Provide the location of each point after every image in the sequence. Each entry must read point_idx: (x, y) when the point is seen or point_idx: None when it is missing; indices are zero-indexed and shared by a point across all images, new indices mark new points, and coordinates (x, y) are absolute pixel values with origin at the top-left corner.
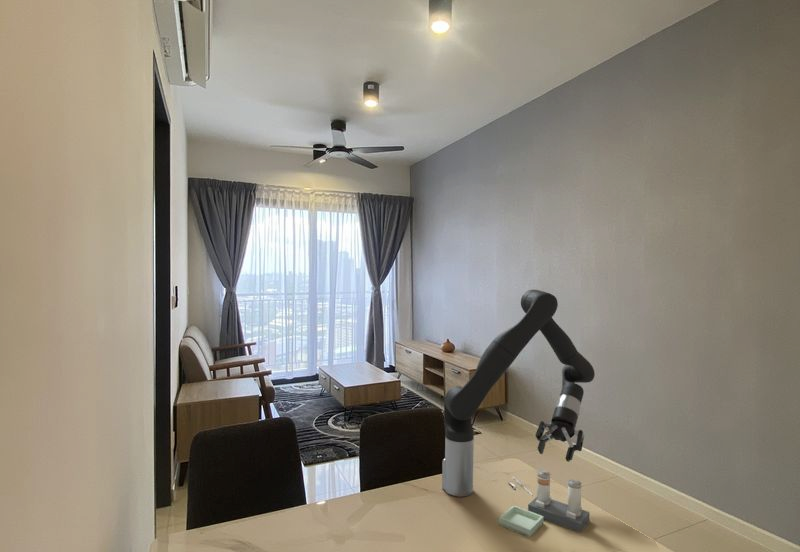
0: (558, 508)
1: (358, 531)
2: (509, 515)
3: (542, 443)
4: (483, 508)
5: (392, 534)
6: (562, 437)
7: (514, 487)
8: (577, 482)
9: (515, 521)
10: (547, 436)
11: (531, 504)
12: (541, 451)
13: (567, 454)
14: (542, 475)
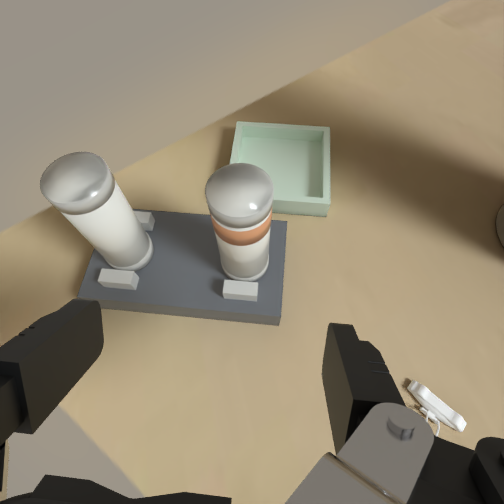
0: (186, 255)
1: None
2: (321, 179)
3: (350, 372)
4: (406, 186)
5: (472, 20)
6: (41, 497)
7: (415, 385)
8: (59, 180)
9: (293, 163)
10: (329, 459)
11: (277, 227)
12: (328, 344)
13: (66, 311)
14: (237, 164)
